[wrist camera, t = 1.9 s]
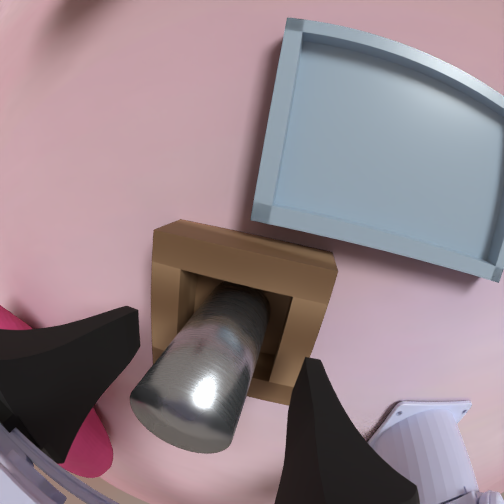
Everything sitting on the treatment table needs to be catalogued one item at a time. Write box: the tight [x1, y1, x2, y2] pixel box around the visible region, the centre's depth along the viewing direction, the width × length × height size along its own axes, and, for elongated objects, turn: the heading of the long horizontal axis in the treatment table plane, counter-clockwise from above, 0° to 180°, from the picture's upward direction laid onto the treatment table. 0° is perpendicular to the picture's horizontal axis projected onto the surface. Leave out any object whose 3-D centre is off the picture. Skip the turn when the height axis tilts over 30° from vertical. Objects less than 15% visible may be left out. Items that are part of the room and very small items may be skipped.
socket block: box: [151, 219, 338, 405], centre depth 13 cm, size 8×8×3 cm
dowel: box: [130, 281, 271, 453], centre depth 11 cm, size 3×3×8 cm
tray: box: [251, 18, 504, 283], centre depth 10 cm, size 10×14×2 cm
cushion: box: [0, 305, 113, 478], centre depth 18 cm, size 23×19×10 cm
